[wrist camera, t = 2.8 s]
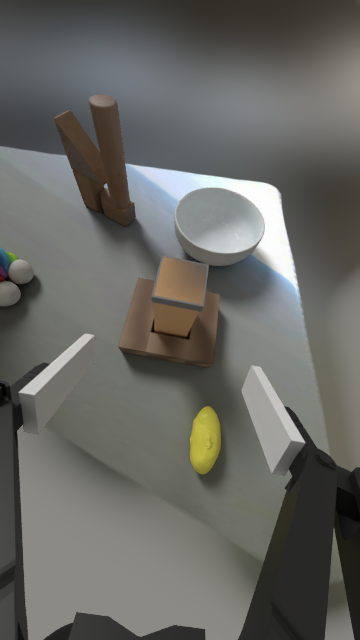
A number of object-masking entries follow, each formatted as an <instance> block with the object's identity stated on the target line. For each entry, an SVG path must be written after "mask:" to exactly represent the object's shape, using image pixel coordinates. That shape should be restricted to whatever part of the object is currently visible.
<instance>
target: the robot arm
mask: <svg viewBox="0 0 360 640" xmlns="http://www.w3.org/2000/svg"><path fill="white" fill-rule="evenodd" d="M94 336H95V335H90V334H84V335H83V336H82V337H80V338H79V339H78V340H77V341H76V342H75V343H74V344H73V345H71V346H70V347H69V348H68V349H67V350H66V351H65V352H64V353H62V354H61V355H60V356H59V357H58V358H57V359H56V360H54V361H53V362H52V363H51V364H48V363H42V364H40V365H38V366H36V367H34V368H33V369H32V370H31V371H29V372H28V373H27V374H26V375H24V376H23V378H21V379H19V380H18V381H17V382H16V383H15V384H13V385H12V386H11V387H10V386H9V384H8V383H7V382H5V381H0V640H28V630H27V617H26V608H25V592H24V571H23V548H22V526H21V503H20V481H19V460H18V438H17V430H18V429H19V428H20V427H21V426H22V425H23V428H24V432H28V433H34V434H39V433H40V432H41V430H42V429H43V428H44V426H45V425H46V424H47V423H48V421H49V420H50V419H51V417H52V416H53V415H54V414H55V412H56V411H57V410H58V408H59V407H60V406H61V405H62V403H63V402H64V401H65V399H66V398H67V397H68V396H69V394H70V393H71V392H72V390H73V389H74V388H75V387H76V385H77V384H78V383H79V381H80V380H81V379H82V378H83V376H84V375H85V374H86V372H87V371H88V370H89V369H90V367H91V366H92V365H93V361H94ZM241 392H242V394H243V397H244V400H245V402H246V405H247V408H248V411H249V413H250V416H251V419H252V421H253V424H254V427H255V430H256V432H257V435H258V438H259V440H260V443H261V446H262V449H263V451H264V454H265V457H266V459H267V462H268V465H269V468H270V470H271V473H272V474H277V475H283V476H285V474H286V473H287V471H288V470H290V472H291V474H292V478H291V479H290V481H289V482H288V484H287V485H286V487H285V489H286V490H287V491H286V494H285V497H284V500H283V504H282V507H281V510H280V513H279V516H278V519H277V522H276V526H275V529H274V532H273V535H272V538H271V541H270V544H269V548H268V551H267V554H266V557H265V560H264V563H263V567H262V570H261V573H260V576H259V580H258V582H257V585H256V589H255V592H254V595H253V598H252V601H251V604H250V607H249V611H248V614H247V617H246V620H245V623H244V626H243V629H242V632H241V634H240V636H239V639H238V640H324V638H325V627H326V615H327V601H328V590H329V578H330V565H331V553H332V541H333V528H334V529H335V534H336V540H337V545H338V551H339V556H340V562H341V567H342V573H343V578H344V584H345V589H346V595H347V601H348V606H349V611H350V617H351V623H352V628H353V633H354V639H355V640H360V468H355V470H353V472H350V471H348V470H346V469H344V468H341V467H339V466H337V465H336V463H335V462H334V460H333V459H332V458H331V457H330V456H329V455H328V454H326V453H325V452H323V451H322V450H320V449H317V447H316V446H315V444H314V442H313V441H312V439H311V438H310V436H309V435H308V433H307V431H306V430H305V428H303V425H302V424H301V422H300V420H299V419H298V417H297V416H296V414H295V413H294V412H293V411H292V410H291V409H290V408H289V407H285V406H283V404H282V403H281V401H280V399H279V397H278V396H277V394H276V392H275V391H274V389H273V387H272V386H271V384H270V382H269V381H268V379H267V377H266V376H265V374H264V372H263V371H262V369H261V367H257V366H251V368H250V371H249V373H248V376H247V378H246V381H245V383H244V386H243V388H242V391H241ZM44 640H205V629H199V628H192V627H183V626H177V625H173V626H170V627H168V628H165V629H162V630H160V631H157V632H154V633H151V634H149V635H146V636H143V637H139V636H136V635H135V634H133V633H132V632H130V631H129V630H128V629H126V628H125V627H123V626H122V625H120V624H119V623H117V622H116V621H114V620H113V619H111V618H110V617H108V616H100V615H93V614H85V613H78V612H77V613H76V616H75V619H74V622H73V623H71V624H68V625H66V626H63V627H61V628H60V629H58V630H56V631H55V632H53V633H52V634H50V635H49V636H47V637H46V638H45V639H44Z"/></svg>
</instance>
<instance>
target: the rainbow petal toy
mask: <svg viewBox="0 0 360 640" xmlns="http://www.w3.org/2000/svg"><path fill="white" fill-rule="evenodd" d="M33 276H34V271H33V268H32V267H31V265H30V264H29V263H27V262H26V261H24V260H19V259H18V258H17V257H16V256H15V255H14V254H12V253H9V252H5V251H4V250H3V249H2V248H1V247H0V306H11V305H13V304H15V303H17V302H18V301H19V299H20V296H21V292H20V289H19V288H18V287H17V286H16V285H15V284H14V283H16V284H25V283H28V282H29V281H31V280H32V278H33ZM5 279H7V280H11V281H13V282H14V283H12V282H9V281H4V280H5Z"/></svg>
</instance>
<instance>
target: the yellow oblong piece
mask: <svg viewBox="0 0 360 640" xmlns="http://www.w3.org/2000/svg"><path fill="white" fill-rule="evenodd" d="M220 446H221V429H220V423H219V419H218V416H217V414H216V413H215V411H214V410H213V409H212V408H211V407H210V406H206V407H204V408H203V409H201V410H200V412H199V413H198V415H197V416H196V418H195V419H194V422H193V428H192V434H191V437H190V460H191V463H192V466H193V468H194V469H195V471H196V472H198V473H199V474H206V473H207V472H209V471H210V470H211V468H212V467H213V465H214V463H215V461H216V459H217V457H218V455H219V452H220Z"/></svg>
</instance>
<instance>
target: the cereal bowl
mask: <svg viewBox="0 0 360 640" xmlns="http://www.w3.org/2000/svg"><path fill="white" fill-rule="evenodd" d="M174 228H175V233H176V237H177V239H178V242H179V243H180V245H181V247H182V248H183V249H184V251H185V252H186V253H187V254H188V255H190V256H191V257H193V258H194V259H196V260H198V261H200V262H202V263H205V264H208V265H214V266H225V265H231V264H234V263H237V262H240V261H241V260H243V259H245V258H246V257H247V256H248V255H250V254H251V253H252V252H253V250H254V249H255V248H256V247H257V245H258V244H259V242H260V241H261V239H262V236H263V234H264V229H265V224H264V219H263V217H262V214H261V213H260V211H259V210H258V208H257V207H256V206H255V205H254V204H253V203H252V202H251V201H249V200H248V199H247V198H245V197H244V196H242V195H240V194H238V193H236V192H233V191H230V190H227V189H222V188H212V187H209V188H201V189H197V190H194V191H192V192H190V193H188V194H186V195H185V196H184V197H183V198H182V199H181V200H180V201H179V203H178V205H177V207H176V210H175V215H174Z"/></svg>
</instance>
